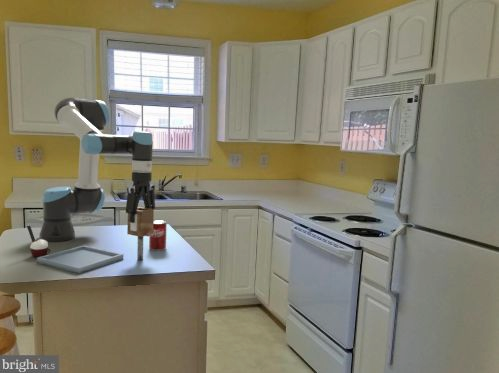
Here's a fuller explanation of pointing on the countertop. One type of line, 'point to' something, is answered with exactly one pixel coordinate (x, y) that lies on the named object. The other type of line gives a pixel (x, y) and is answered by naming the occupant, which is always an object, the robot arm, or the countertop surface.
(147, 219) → the wooden hollow block
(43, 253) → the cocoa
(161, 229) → the soda can
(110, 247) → the countertop surface
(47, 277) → the countertop surface
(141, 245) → the rod
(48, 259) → the tray
